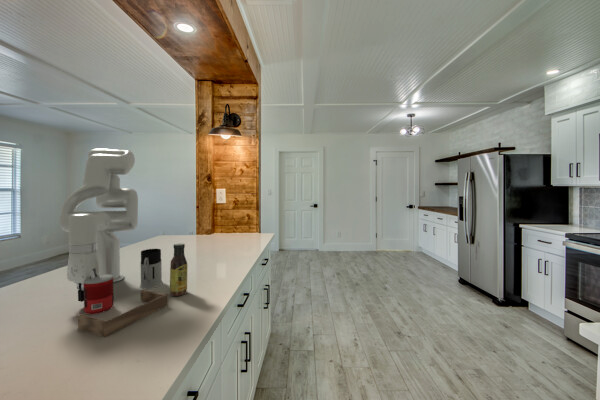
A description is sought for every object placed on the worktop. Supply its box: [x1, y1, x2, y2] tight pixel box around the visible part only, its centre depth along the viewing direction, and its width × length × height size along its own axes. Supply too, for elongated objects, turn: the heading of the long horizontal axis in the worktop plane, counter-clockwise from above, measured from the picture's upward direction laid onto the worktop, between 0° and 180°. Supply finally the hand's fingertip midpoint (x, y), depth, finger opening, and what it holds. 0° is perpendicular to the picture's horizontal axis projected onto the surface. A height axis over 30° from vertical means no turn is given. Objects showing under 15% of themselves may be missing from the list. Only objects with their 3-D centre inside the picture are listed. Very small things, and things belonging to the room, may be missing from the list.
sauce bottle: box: [169, 242, 188, 297], centre depth 100 cm, size 6×6×20 cm
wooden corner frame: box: [77, 289, 169, 338], centre depth 82 cm, size 12×21×4 cm, turn 160°
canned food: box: [83, 274, 115, 315], centre depth 87 cm, size 8×8×11 cm
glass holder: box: [139, 248, 164, 289], centre depth 107 cm, size 9×14×15 cm, turn 18°
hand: (84, 299), depth 89 cm, fingers closed
